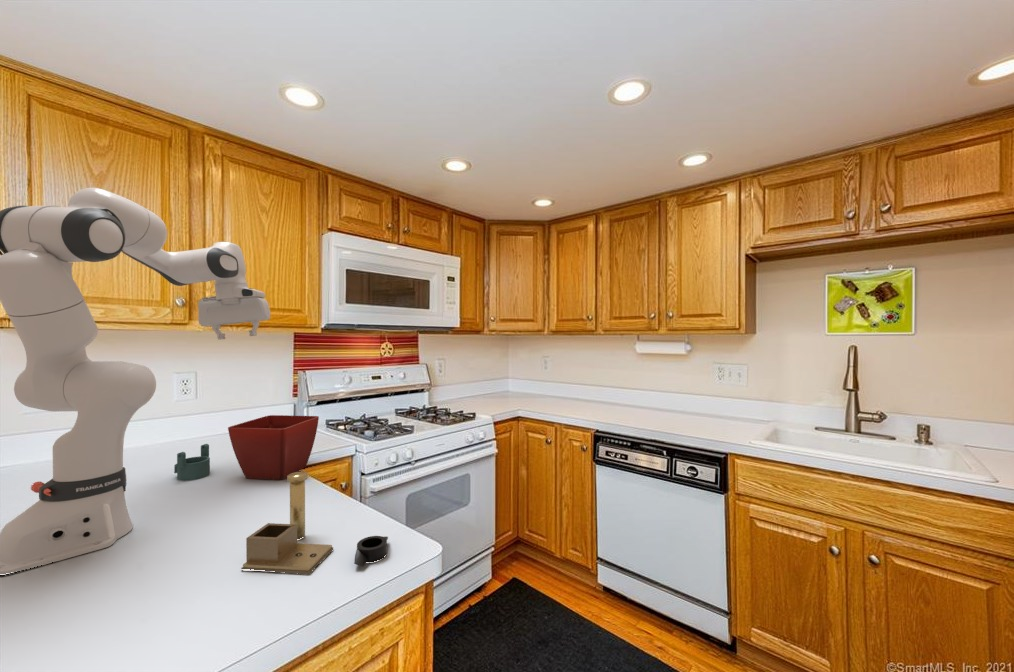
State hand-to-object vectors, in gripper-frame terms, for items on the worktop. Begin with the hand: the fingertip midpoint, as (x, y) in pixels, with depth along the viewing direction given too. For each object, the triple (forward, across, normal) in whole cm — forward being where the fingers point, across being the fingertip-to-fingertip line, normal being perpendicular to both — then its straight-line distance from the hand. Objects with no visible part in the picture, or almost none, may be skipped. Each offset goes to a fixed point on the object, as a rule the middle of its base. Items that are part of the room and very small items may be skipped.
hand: (237, 337), depth 134 cm
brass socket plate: (+49, +31, -54) cm, 79 cm away
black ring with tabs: (+52, +46, -54) cm, 88 cm away
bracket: (+42, -19, +2) cm, 46 cm away
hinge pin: (+49, +29, -44) cm, 72 cm away
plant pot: (+45, +6, +2) cm, 45 cm away
